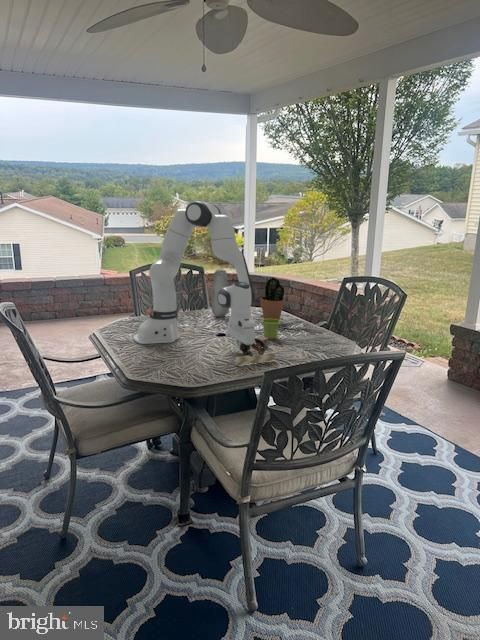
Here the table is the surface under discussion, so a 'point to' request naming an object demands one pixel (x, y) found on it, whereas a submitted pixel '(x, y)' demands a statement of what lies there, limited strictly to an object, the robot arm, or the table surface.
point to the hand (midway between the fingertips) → (239, 348)
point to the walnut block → (263, 339)
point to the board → (255, 358)
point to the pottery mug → (253, 346)
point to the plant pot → (270, 328)
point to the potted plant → (272, 300)
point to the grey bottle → (218, 283)
